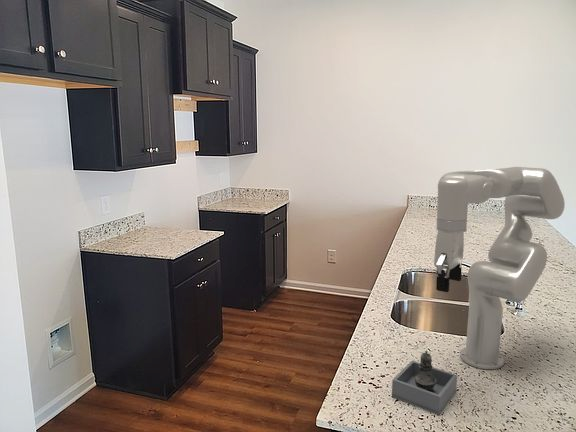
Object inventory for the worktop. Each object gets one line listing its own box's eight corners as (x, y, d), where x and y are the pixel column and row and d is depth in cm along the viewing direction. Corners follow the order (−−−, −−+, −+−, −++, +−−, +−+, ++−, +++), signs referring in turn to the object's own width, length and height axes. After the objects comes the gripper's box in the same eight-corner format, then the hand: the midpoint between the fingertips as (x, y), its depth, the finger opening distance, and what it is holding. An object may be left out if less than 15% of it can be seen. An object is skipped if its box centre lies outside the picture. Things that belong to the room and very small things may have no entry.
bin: (411, 376, 132) (412, 360, 131) (456, 391, 124) (457, 375, 123) (391, 396, 122) (392, 379, 121) (439, 414, 114) (440, 397, 113)
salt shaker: (409, 391, 123) (411, 351, 121) (419, 382, 127) (421, 343, 125) (429, 400, 119) (431, 358, 117) (439, 390, 123) (441, 350, 121)
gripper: (448, 216, 128) (446, 273, 132) (425, 229, 115) (423, 292, 119) (475, 219, 124) (472, 278, 127) (454, 233, 110) (451, 298, 114)
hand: (448, 285), depth 123 cm, fingers open, 9 cm apart
